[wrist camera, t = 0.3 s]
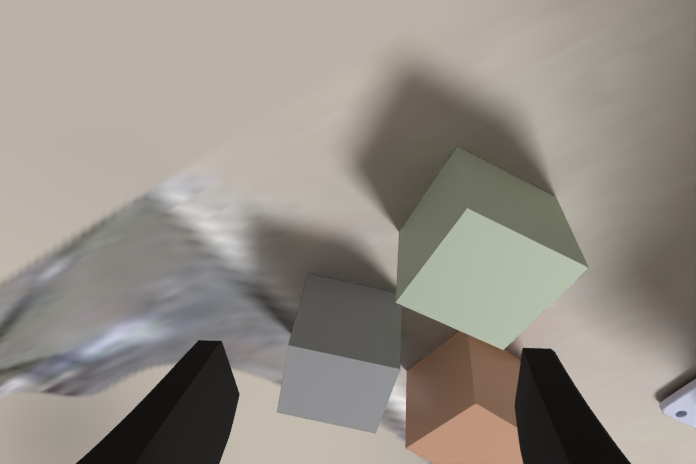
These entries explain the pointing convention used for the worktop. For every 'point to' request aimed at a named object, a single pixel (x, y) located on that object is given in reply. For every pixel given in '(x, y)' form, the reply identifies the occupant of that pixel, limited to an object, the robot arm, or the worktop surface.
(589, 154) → the worktop surface
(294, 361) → the slate grey block
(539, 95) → the worktop surface
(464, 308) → the sage block
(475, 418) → the terracotta block
